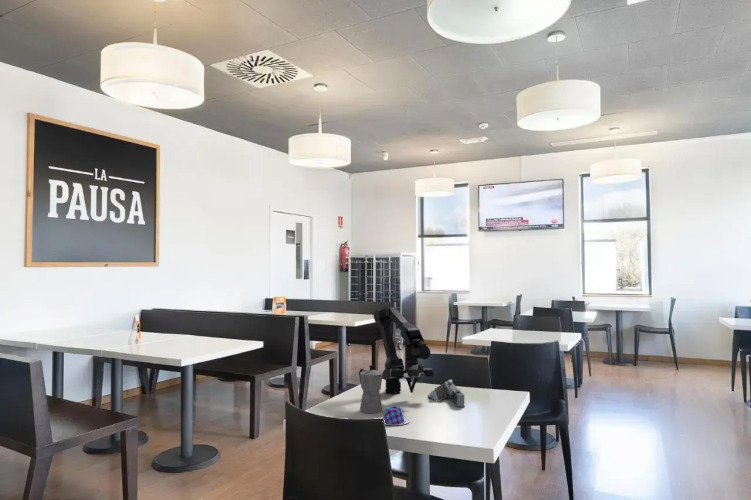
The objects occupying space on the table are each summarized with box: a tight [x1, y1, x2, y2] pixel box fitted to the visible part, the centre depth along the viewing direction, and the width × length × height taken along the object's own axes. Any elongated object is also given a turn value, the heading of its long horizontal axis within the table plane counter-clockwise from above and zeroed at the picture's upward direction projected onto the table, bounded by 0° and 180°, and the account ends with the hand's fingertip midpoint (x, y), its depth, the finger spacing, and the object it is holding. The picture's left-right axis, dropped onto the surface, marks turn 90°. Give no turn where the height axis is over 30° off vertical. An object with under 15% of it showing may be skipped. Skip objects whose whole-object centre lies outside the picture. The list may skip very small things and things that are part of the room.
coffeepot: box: [358, 364, 384, 415], centre depth 202 cm, size 15×9×18 cm, turn 33°
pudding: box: [380, 405, 411, 426], centre depth 186 cm, size 12×12×5 cm
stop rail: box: [444, 379, 465, 408], centre depth 219 cm, size 3×26×7 cm, turn 3°
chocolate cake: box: [427, 382, 451, 402], centre depth 221 cm, size 10×7×12 cm
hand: (411, 392), depth 218 cm, fingers closed
